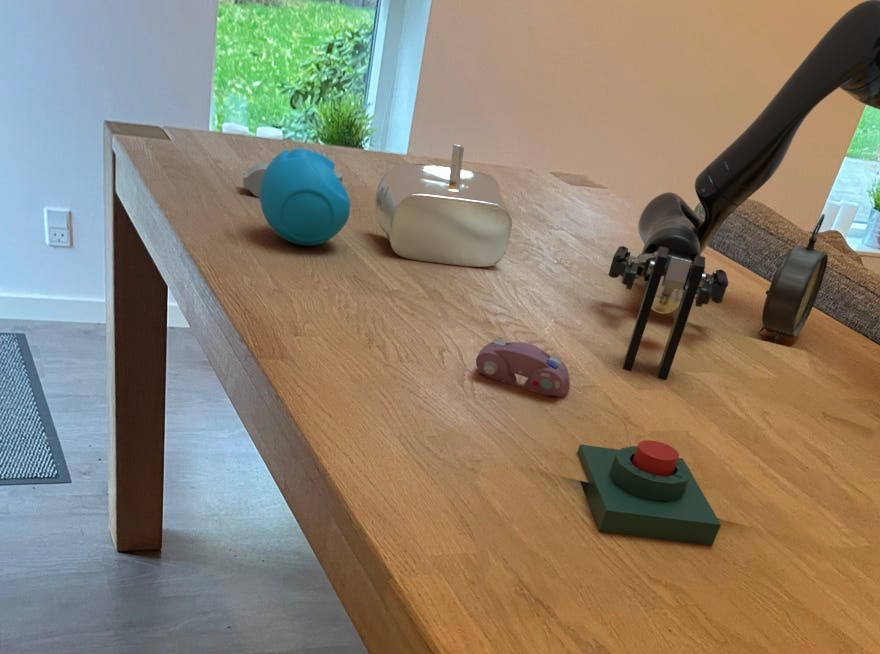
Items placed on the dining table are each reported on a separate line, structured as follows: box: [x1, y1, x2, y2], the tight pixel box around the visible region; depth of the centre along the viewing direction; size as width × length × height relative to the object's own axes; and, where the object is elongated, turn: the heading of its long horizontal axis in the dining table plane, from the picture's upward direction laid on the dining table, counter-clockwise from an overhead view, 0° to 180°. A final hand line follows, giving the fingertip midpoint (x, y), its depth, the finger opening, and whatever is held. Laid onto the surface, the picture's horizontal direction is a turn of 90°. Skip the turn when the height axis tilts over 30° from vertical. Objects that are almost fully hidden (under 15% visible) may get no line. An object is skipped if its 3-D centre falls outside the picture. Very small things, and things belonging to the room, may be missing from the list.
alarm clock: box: [757, 213, 829, 345], centre depth 128 cm, size 11×5×16 cm, turn 147°
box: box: [577, 443, 722, 547], centre depth 86 cm, size 12×10×4 cm
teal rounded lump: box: [260, 147, 351, 247], centre depth 129 cm, size 12×11×12 cm
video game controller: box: [475, 337, 571, 398], centre depth 101 cm, size 10×5×7 cm, turn 68°
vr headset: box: [375, 143, 513, 268], centre depth 135 cm, size 18×11×14 cm, turn 99°
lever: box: [651, 257, 692, 315], centre depth 111 cm, size 14×4×4 cm, turn 166°
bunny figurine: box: [242, 162, 346, 199], centre depth 148 cm, size 10×5×15 cm
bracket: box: [622, 246, 707, 381], centre depth 108 cm, size 12×9×14 cm
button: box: [632, 439, 680, 476], centre depth 85 cm, size 4×4×2 cm
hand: (666, 289), depth 117 cm, fingers open, 8 cm apart
